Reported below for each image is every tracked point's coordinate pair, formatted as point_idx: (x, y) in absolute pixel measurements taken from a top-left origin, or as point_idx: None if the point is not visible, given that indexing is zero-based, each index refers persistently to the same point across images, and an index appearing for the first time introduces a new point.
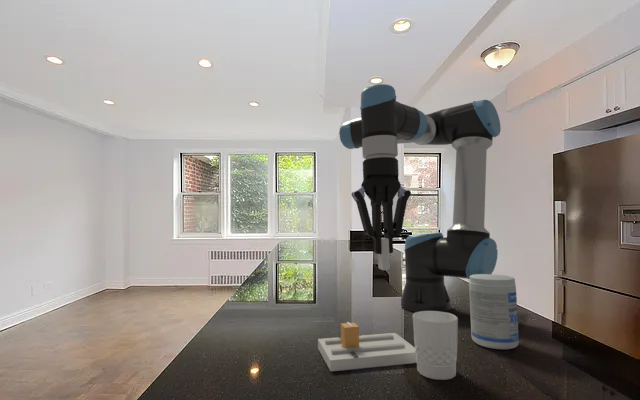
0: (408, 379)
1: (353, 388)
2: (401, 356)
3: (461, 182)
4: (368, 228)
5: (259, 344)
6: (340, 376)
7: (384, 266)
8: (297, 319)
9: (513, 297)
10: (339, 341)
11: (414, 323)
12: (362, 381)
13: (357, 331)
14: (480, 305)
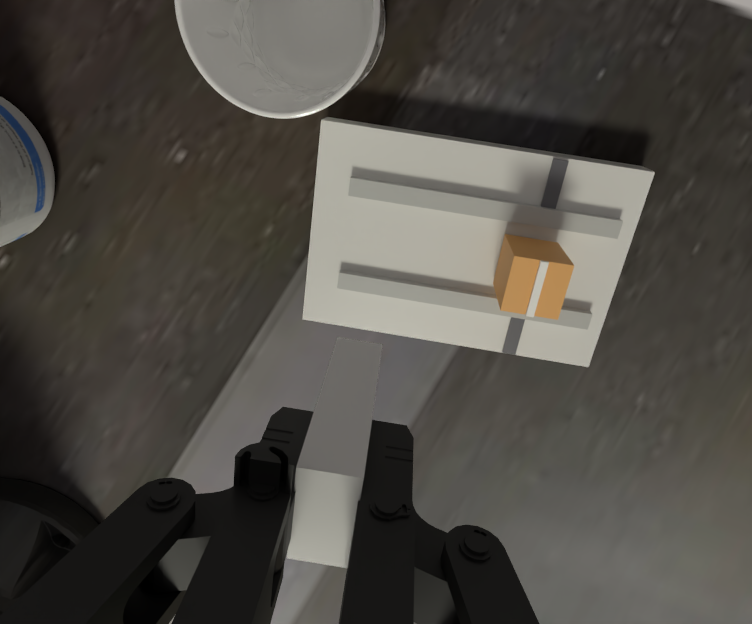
0: (443, 10)
1: (645, 18)
2: (394, 130)
3: None
4: (508, 594)
5: (736, 453)
6: (632, 119)
7: (370, 354)
8: None
9: None
10: None
11: (378, 36)
12: (589, 56)
13: (517, 251)
14: None
